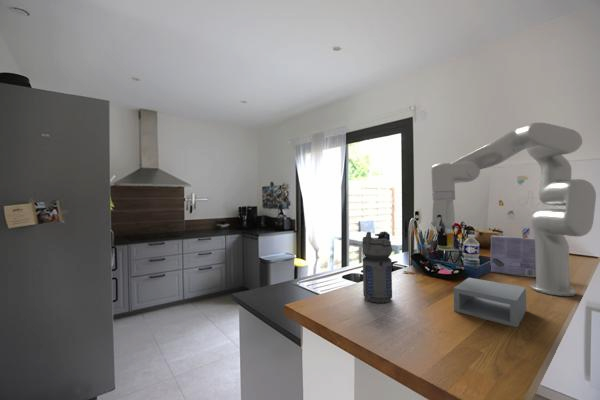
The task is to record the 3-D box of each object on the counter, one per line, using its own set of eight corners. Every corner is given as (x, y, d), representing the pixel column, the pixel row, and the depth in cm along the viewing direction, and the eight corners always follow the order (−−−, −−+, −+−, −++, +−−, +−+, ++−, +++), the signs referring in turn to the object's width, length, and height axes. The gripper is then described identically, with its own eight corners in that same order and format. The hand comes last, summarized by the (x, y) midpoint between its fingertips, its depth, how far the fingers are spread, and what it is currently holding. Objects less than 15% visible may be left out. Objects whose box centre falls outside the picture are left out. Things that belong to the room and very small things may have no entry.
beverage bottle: (401, 297, 99) (399, 230, 99) (380, 307, 90) (379, 233, 90) (377, 291, 107) (376, 228, 107) (356, 299, 98) (355, 231, 98)
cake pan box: (542, 276, 121) (541, 237, 122) (543, 279, 118) (542, 239, 118) (491, 270, 134) (490, 235, 134) (490, 272, 130) (489, 236, 130)
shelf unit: (469, 298, 97) (468, 277, 97) (526, 310, 85) (525, 287, 85) (454, 310, 86) (453, 287, 86) (517, 327, 74) (516, 300, 75)
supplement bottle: (456, 250, 97) (455, 224, 97) (440, 250, 98) (439, 224, 98) (451, 248, 102) (450, 222, 102) (435, 248, 104) (434, 223, 104)
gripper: (441, 196, 109) (443, 240, 109) (423, 197, 97) (425, 246, 97) (462, 195, 103) (464, 242, 103) (446, 196, 92) (448, 249, 92)
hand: (445, 244), depth 100 cm, fingers closed on supplement bottle, 5 cm apart
